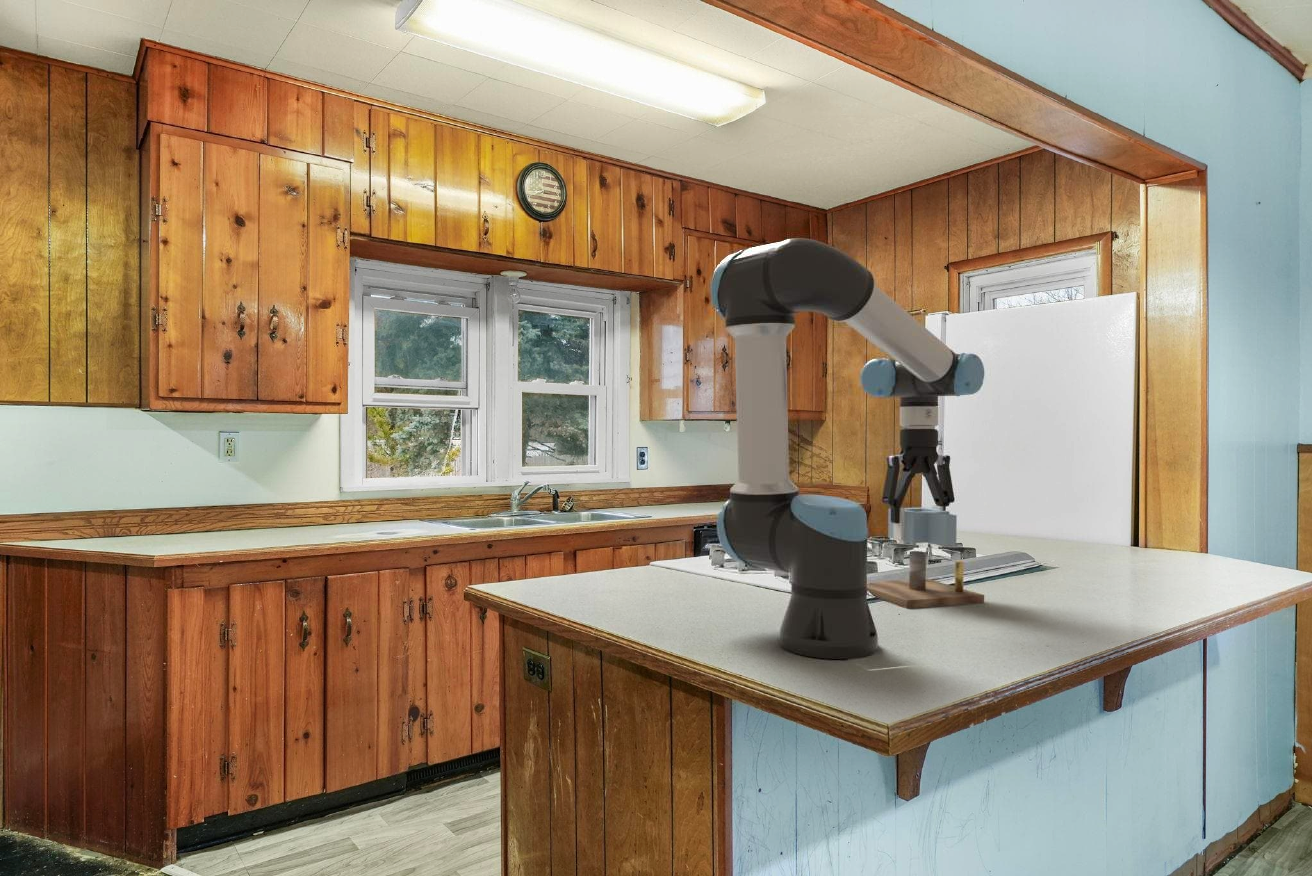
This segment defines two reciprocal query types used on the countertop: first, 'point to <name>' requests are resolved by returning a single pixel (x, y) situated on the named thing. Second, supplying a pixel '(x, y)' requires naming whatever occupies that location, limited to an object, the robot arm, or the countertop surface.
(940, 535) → the pale blue notched block
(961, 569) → the dowel
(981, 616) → the countertop surface
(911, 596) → the post base
